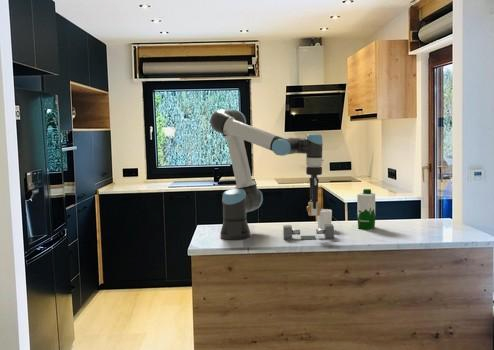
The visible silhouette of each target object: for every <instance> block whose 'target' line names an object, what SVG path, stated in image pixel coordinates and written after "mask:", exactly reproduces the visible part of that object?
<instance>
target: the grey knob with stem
mask: <svg viewBox="0 0 494 350" xmlns="http://www.w3.org/2000/svg"><path fill="white" fill-rule="evenodd" d="M334 227H335V226H334V225H333V223H331V224H324V229H318V228H317V229H316V231H315V232H316V233H315V234H316V235H323V237H324V239H325V240H328V239H329V240H330V239H331V240H334V239H335V236H334V235H335V232H334V231H335V230H334V229H335V228H334Z"/></svg>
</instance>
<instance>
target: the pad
mask: <svg viewBox="0 0 494 350" xmlns="http://www.w3.org/2000/svg"><path fill="white" fill-rule="evenodd" d="M300 239H301V240H302V241H304V240H305V241H309V240H310V241H311V240H312V239H313V240H314V239H315V240H317V238H316V235H300Z"/></svg>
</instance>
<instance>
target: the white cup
mask: <svg viewBox="0 0 494 350" xmlns="http://www.w3.org/2000/svg"><path fill="white" fill-rule="evenodd" d="M332 215H333V210H332V209H330V208H329V209H328V208H326V209H325V208H321V211H320V216H316V223H317V229H324V224H332V218H333V216H332Z"/></svg>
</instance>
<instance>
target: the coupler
mask: <svg viewBox="0 0 494 350" xmlns="http://www.w3.org/2000/svg"><path fill="white" fill-rule="evenodd" d="M307 204H308V206H306V212H308V213H307V214H308V216H310V217H312V216H313V217H317V216H320V211H321V209H322V206H321V204H320V202H319V201H317V215H311V202H310V201H308V203H307Z"/></svg>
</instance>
